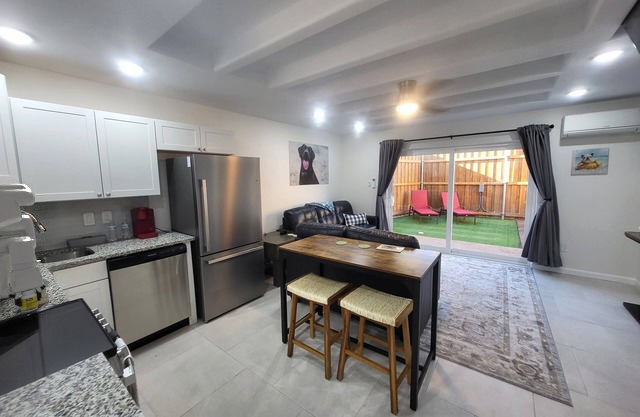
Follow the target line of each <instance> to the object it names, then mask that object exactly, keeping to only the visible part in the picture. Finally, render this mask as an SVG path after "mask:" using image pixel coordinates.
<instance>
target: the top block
mask: <svg viewBox="0 0 640 417" xmlns="http://www.w3.org/2000/svg"><path fill="white" fill-rule="evenodd" d="M43 284H44V283H43ZM40 287H41V286H40ZM46 287H47V286H46ZM46 287H45V288H44V289H43V290H42V292H41V294H43V293H46V292H47V288H46ZM33 289H34V288H33ZM35 292H36V290H35V289H34V292H33V293H35Z"/></svg>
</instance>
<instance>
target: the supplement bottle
mask: <svg viewBox="0 0 640 417" xmlns="http://www.w3.org/2000/svg"><path fill="white" fill-rule="evenodd" d="M33 292H34V289H29V290H26V291H22V292H21V294H20V296H19V298H21V303H22V306H21V307H19V308H20V312H21V313H30V312H33V311H35V310H37V309H38V308H39V305H38V301H37V294H36V293H33Z"/></svg>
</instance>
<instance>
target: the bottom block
mask: <svg viewBox="0 0 640 417" xmlns="http://www.w3.org/2000/svg"><path fill="white" fill-rule="evenodd" d="M41 295H42V298H40V299H41V301H38V306H39V305H42V304H46V303H49V302H50V299H49V292H48V291H46V293H43V294H41Z"/></svg>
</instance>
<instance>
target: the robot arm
mask: <svg viewBox="0 0 640 417" xmlns="http://www.w3.org/2000/svg"><path fill="white" fill-rule="evenodd" d="M35 203H36V197H35V194H34V192H33V191H32V190H31V189H30V188H29V187H28V186H27V185H26V184H23V183H0V235H7V236H2V237H1V236H0V300H2V299H8V298H11V299H13V300H14V305H15V306H17V307H19V308H20V307H21V306H22V303H21V298H19V297H20V296H21V292H22V291H26V290H29V289H33V288H34V289H35V290H36V292H35V293H36V294H37V301H41V299H40V298H42V295H41V292H42V290H43V289H44V288H45V287H47V286H48V285H50V284H51V283H50V281H48V280H46V279H45V278H43V274H42V272H41V268H40V267H39V265H38V264H41V260H40V259H39V260H37V259H36V253H35V252H36V251H35V249H36V248H37V237H36V233H35V232H36V231H35V225H34V221H33V219H32V217H31V216H29V215H27V214H26V215H25V214H22V211H21V208H20V207H24V206H25V207H27V206H28V207H29V206H33V205H34V204H35ZM18 233H19V234H18ZM10 234H17V235H10ZM43 283H44V284H43ZM40 286H41V287H40Z"/></svg>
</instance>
